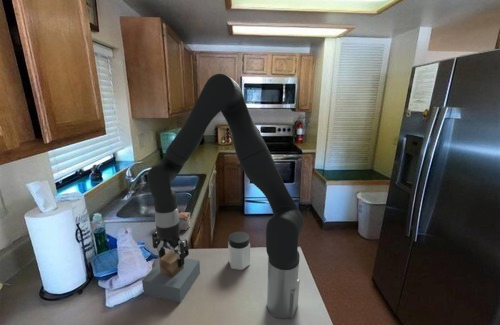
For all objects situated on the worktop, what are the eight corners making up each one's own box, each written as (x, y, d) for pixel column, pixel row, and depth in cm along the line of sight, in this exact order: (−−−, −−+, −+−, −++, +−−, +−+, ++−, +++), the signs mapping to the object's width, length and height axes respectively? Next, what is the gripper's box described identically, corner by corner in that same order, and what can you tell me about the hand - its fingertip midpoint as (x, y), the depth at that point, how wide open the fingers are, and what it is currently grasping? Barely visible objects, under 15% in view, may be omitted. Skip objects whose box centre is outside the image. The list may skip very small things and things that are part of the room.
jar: (227, 258, 98) (226, 232, 95) (245, 254, 100) (245, 229, 97) (231, 272, 90) (231, 245, 86) (252, 268, 92) (252, 241, 89)
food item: (193, 224, 124) (191, 207, 121) (187, 233, 116) (186, 215, 114) (168, 223, 125) (166, 206, 123) (161, 231, 117) (159, 213, 115)
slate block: (200, 274, 89) (199, 260, 88) (180, 303, 76) (179, 288, 75) (167, 267, 93) (166, 254, 91) (143, 295, 80) (141, 280, 78)
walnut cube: (183, 267, 84) (182, 254, 83) (172, 277, 79) (171, 264, 78) (172, 263, 86) (171, 250, 85) (160, 272, 82) (159, 259, 80)
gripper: (191, 220, 78) (194, 262, 82) (160, 211, 84) (164, 251, 88) (175, 231, 72) (179, 276, 76) (143, 221, 78) (148, 263, 82)
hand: (171, 262), depth 82 cm, fingers open, 8 cm apart
